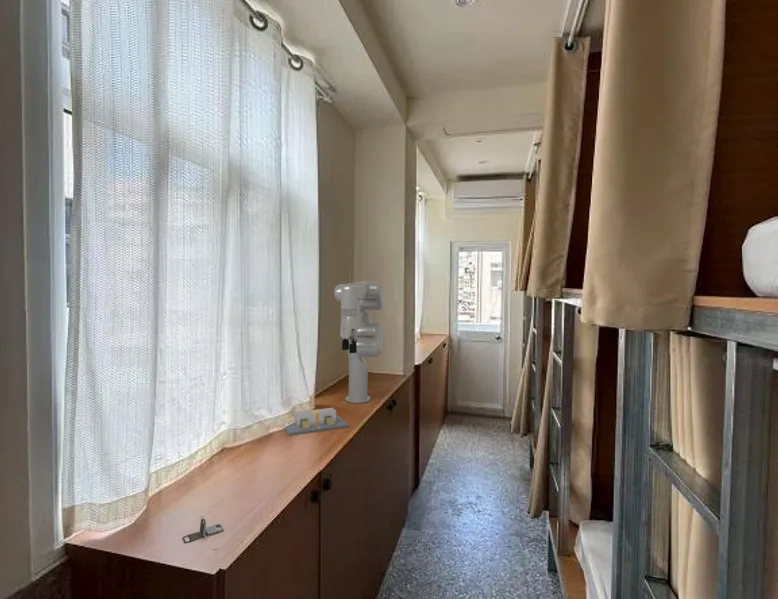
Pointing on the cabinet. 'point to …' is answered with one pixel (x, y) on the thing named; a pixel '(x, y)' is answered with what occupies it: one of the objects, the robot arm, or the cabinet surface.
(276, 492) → the cabinet surface
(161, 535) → the cabinet surface
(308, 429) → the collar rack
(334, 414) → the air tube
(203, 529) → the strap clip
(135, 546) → the cabinet surface
